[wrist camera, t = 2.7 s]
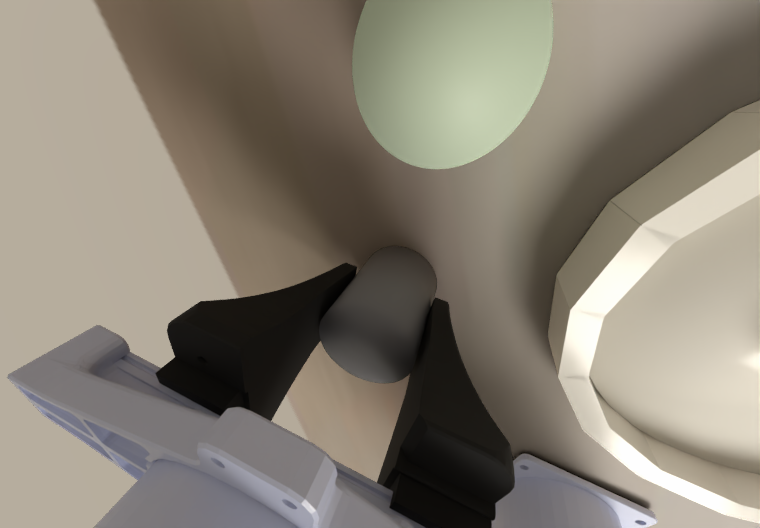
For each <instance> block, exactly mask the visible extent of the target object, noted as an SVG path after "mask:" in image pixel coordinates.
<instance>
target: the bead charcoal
mask: <svg viewBox="0 0 760 528" xmlns="http://www.w3.org/2000/svg"><path fill="white" fill-rule="evenodd" d="M436 288H437V279H436V275H435V272H434V270H433V268H432V266H431V265H430V263H429V262H428V261H427V260H426V259H425V258H424V257H423V256H421V255H420V254H419V253H417V252H415V251H413V250H411V249H408V248H405V247H399V246H391V247H385V248H382V249H380V250H378V251H376V252H375V253H374V254H373V255H372V256H371V257H370V258H369V259H368V261H367V262H366V263H365V264H364V266H363V267H362V268H361V269H360V271H359V272H358V273H357V274H356V276H355V277H354V278H353V280H352V281H351V282H350V283H349V285H348V286H347V287H346V288H345V290H344V291H343V292H342V293H341V295H340V296H339V297H338V298H337V300H336V301H335V302H334V303H333V305H332V306H331V307H330V308H329V310H328V311H327V312H326V314H325V315H324V316H323V318H322V319H321V322H320V326H319V335H320V339H321V342H322V345H323V347H324V349H325V350H326V352H327V353H328V355H329V356H330V357H331V358H332V359H333V360H334V361H335V362H336V363H337V364H338V365H339V366H340V367H341V368H343V369H344V370H346V371H347V372H349V373H350V374H352V375H354V376H356V377H358V378H361V379H363V380H367V381H370V382H375V383H393V382H397V381H400V380H402V379H404V378H405V377H406V376H408V375H409V373H410V372H411V371H412V369H413V367H414V364H415V360H416V357H417V353H418V350H419V347H420V343H421V340H422V336H423V333H424V330H425V326H426V322H427V318H428V315H429V312H430V308H431V306H432V303H433V299H434V296H435V292H436Z"/></svg>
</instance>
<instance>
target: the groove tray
mask: <svg viewBox="0 0 760 528" xmlns="http://www.w3.org/2000/svg"><path fill="white" fill-rule="evenodd" d="M548 339H549V343H550V347H551V351H552V355H553V359H554V363H555V367H556V371H557V375H558V378H559V380H560V382H561V384H562V387H563V389H564V391H565V393H566V395H567V397H568V399H569V402H570V404H571V406H572V408H573V410H574V412H575V414H576V417H577V419H578V421H579V423H580V425H581V427H582V429H583V431H584V432H585V433H586V434H587V435H589V436H590V437H591V438H592V439H594V440H595V441H596V442H597V443H598V444H600V445H601V446H602V447H603V448H605V449H606V450H607V451H608V452H609V453H611V454H612V455H613V456H614V457H616V458H617V459H618V460H619V461H620V462H622V463H623V464H624V465H625V466H627V467H628V468H629V469H630V470H631V471H633V472H634V473H635V474H636V475H638V476H639V477H641V478H643V479H646V480H648V481H650V482H652V483H655V484H657V485H659V486H661V487H664V488H666V489H668V490H670V491H673V492H675V493H677V494H679V495H681V496H684V497H686V498H688V499H690V500H693V501H695V502H697V503H699V504H702V505H704V506H706V507H708V508H711V509H713V510H715V511H717V512H720V513H722V514H725V515H728V516H732V517H736V518H740V519H744V520H747V521H751V522H755V523H759V524H760V100H759V101H756V102H754V103H752V104H749V105H747V106H745V107H742V108H740V109H737V110H735V111H733V112H731V113H729V114H728V115H727V116H725V117H724V118H722V119H721V120H720V121H718V122H717V123H716V124H714V125H713V126H711V127H710V128H709V129H707V130H706V131H705V132H703V133H702V134H700V135H699V136H698V137H696V138H695V139H694V140H692V141H691V142H689V143H688V144H687V145H685V146H684V147H683V148H681V149H680V150H678V151H677V152H676V153H674V154H673V155H671V156H670V157H669V158H667V159H666V160H665V161H663V162H662V163H660V164H659V165H658V166H656V167H655V168H654V169H652V170H651V171H649V172H648V173H647V174H645V175H644V176H643V177H641V178H640V179H638V180H637V181H636V182H634V183H633V184H632V185H630V186H629V187H627V188H626V189H625V190H623V191H622V192H621V193H619V194H618V195H616V196H615V197H614V198H612V199H611V200H610V201H609V202H608V203H607V205H606V206H605V208H604V209H603V210H602V212H601V213H600V215H599V216H598V217H597V219H596V220H595V222H594V223H593V224H592V226H591V227H590V229H589V230H588V231H587V233H586V234H585V236H584V237H583V238H582V240H581V241H580V243H579V244H578V245H577V247H576V248H575V250H574V251H573V252H572V254H571V255H570V256H569V258H568V259H567V261H566V262H565V263H564V265H563V266H562V268H561V269H560V270H559V272H558V273H557V275H556V281H555V288H554V295H553V302H552V309H551V316H550V323H549V329H548Z"/></svg>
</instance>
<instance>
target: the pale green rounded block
mask: <svg viewBox="0 0 760 528" xmlns="http://www.w3.org/2000/svg"><path fill="white" fill-rule="evenodd" d="M552 43H553V11H552V3H551V0H367V1H366V3H365V5H364V8H363V10H362V13H361V16H360V19H359V22H358V26H357V30H356V34H355V40H354V45H353V56H352V77H353V86H354V92H355V96H356V101H357V104H358V107H359V110H360V113H361V115H362V118H363V120H364V122H365V124H366V126H367V127H368V129H369V131H370V132H371V134H372V135H373V137H374V138H375V139H376V140H377V142H378V143H379V144H380V145H381V146H382V147H383V148H384V149H385V150H386V151H388V152H389V153H390V154H392V155H393V156H394V157H396V158H398V159H399V160H401V161H403V162H405V163H408V164H410V165H413V166H416V167H421V168H427V169H447V168H453V167H458V166H461V165H464V164H467V163H470V162H472V161H474V160H476V159H479V158H480V157H482V156H484V155H485V154H487V153H489V152H490V151H492V150H493V149H494V148H496V147H497V146H498V145H499V144H501V143H502V142H503V141H504V140H505V139H506V138H507V137H508V136H509V135H510V134H511V133H512V132H513V131H514V130H515V129H516V128H517V126H518V125H519V124H520V123H521V121H522V120H523V119H524V117H525V116H526V114H527V113H528V111H529V110H530V108H531V107H532V105H533V103H534V101H535V99H536V97H537V95H538V93H539V91H540V88H541V86H542V83H543V81H544V78H545V76H546V72H547V68H548V65H549V61H550V56H551V50H552Z"/></svg>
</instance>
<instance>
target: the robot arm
mask: <svg viewBox="0 0 760 528" xmlns="http://www.w3.org/2000/svg"><path fill="white" fill-rule="evenodd" d="M356 270H357V267H356V266H353V265H350V264H348V263H344V264H342V265H340V266H338V267H336V268H334V269H332V270H330V271H328V272H326V273H323V274H321V275H319V276H317V277H315V278H312V279H310V280H307V281H305V282H302V283H300V284H297V285H294V286H291V287H288V288H285V289H281V290H278V291H274V292H269V293H265V294H260V295H255V296H250V297H243V298H236V299H228V300H214V301H201V302H199V303H198V304H196V305H194V306H193V307H192V308H190V309H189V310H187V311H186V312H184V313H183V314H181V315H180V316H178V317H177V318H175V319H174V320H172V321H171V322H170V323H169V324H168V329H167V332H168V337H169V340H170V343H171V346H172V349H173V352H174V355H175V358H174V359H173V360H171V361H170V362H169V363H167V364H166V365H165V366H164V367H162V368H159V367H157V366H156V365H154V364H152V363H150V362H148V361H146V360H144V359H143V358H141V357H139V356H137V355H135V354H133V353H131V352H130V349H129V346H128V344H127V342H126V341H125V340H124V339H123V338H122V337H121V336H119V335H118V334H116V333H114V332H112V331H110V330H108V329H106V328H104V327H102V326H100V325H96V326H94V327H93V328H91V329H89V330H87V331H85V332H84V333H82V334H80V335H78V336H77V337H75V338H73V339H71V340H70V341H68V342H66V343H64V344H62V345H60V346H59V347H57V348H55V349H53V350H51V351H50V352H48V353H46V354H44V355H42V356H41V357H39V358H37V359H35V360H33V361H32V362H30V363H28V364H26V365H24V366H23V367H21V368H19V369H17V370H16V371H14V372H12V373H10V374H9V375H8V379H9V380H10V381H11V382H12V383H13V384H14V385H15V386H16V387H17V388H18V389H19V390H20V392H21V393H23V395H24V396H26V398H27V399H28V400H29V401H30V402H31V403H32V404H33V405H34V406H35V407H36V408H37V409H38V410H39V411H40V412H41V413H42V414H43V415H44V416H45V417H46V418H48V419H49V420H51V421H52V422H54V423H56V424H57V425H59V426H60V427H62V428H63V429H65V430H66V431H68V432H69V433H71V434H72V435H74V436H75V437H77V438H78V439H80V440H81V441H83V442H84V443H86V444H87V445H89V446H90V447H91V448H93V449H94V450H96V451H97V452H98V453H100V454H101V455H103V456H104V457H106V458H107V459H109V460H110V461H111V462H113V463H114V464H116V465H117V466H118V467H120V468H121V469H122V470H124V471H125V472H127V473H128V474H130V475H131V476H132V477H134V478H135V479H137V480H138V481H137V482H136V483H135V484H134V485H133V486H132V487H131V488H130V490H128V492H127V493H126V494H125V495H124V496H123V497H122V498H121V499H120V500H119V501H118V502H117V503H116V504H115V505H114V506H113V508H112V509H111V510H110V511H109V512H108V513H107V514H106V515H105V516H104V517H103V518H102V519H101V520H100V521H99V522H98V523H97V525H96V526H95V527H94V528H646V527H649V526H652V525H654V524H656V523H657V518H656V516H655V514H654V513H653V512H652V511H650V510H648V509H646V508H644V507H642V506H640V505H638V504H635V503H633V502H631V501H629V500H627V499H625V498H622V497H620V496H618V495H616V494H614V493H612V492H610V491H607V490H605V489H603V488H601V487H599V486H597V485H594V484H592V483H590V482H588V481H586V480H584V479H581V478H579V477H577V476H575V475H573V474H571V473H568V472H566V471H564V470H562V469H560V468H558V467H556V466H553V465H551V464H549V463H547V462H545V461H543V460H540V459H538V458H536V457H534V456H532V455H529V454H521V455H519V456H518V457H517V458H516V459H515V460H513V458H512V453H511V448H510V444H509V442H508V441H507V439H506V438H505V436H504V435H503V434H502V432H501V431H500V429H499V428H498V427H497V425H496V424H495V422H494V421H493V419H492V418H491V416H490V415H489V413H488V411H487V410H486V408H485V407H484V405H483V403H482V401H481V400H480V398H479V396H478V394H477V392H476V390H475V388H474V387H473V385H472V382H471V380H470V378H469V376H468V374H467V371H466V369H465V367H464V364H463V362H462V359H461V356H460V353H459V350H458V347H457V344H456V340H455V337H454V333H453V329H452V324H451V318H450V312H449V304H448V302H446V301H443V300H441V299H438V298H435V299H434V301H433V303H432V306H431V308H430V312H429V315H428V318H427V322H426V326H425V330H424V333H423V336H422V340H421V343H420V347H419V350H418V353H417V357H416V360H415V364H414V367H413V369H412V371H411V372H410V377H409V382H408V387H407V390H406V394H405V398H404V401H403V404H402V407H401V410H400V414H399V417H398V420H397V423H396V426H395V429H394V432H393V436H392V439H391V442H390V445H389V448H388V451H387V454H386V457H385V460H384V463H383V466H382V469H381V472H380V475H379V478H378V481H377V483H376V482H374V481H373V480H371V479H369V478H367V477H365V476H363V475H361V474H359V473H357V472H356V471H354V470H352V469H350V468H348V467H346V466H344V465H342V464H341V463H339V462H337V461H335V460H333V459H331V457H330V456H329V455H328V454H327V453H326V452H325V451H323V450H322V449H320V448H319V447H318V446H316V445H315V444H313V443H311V442H309V441H307V440H305V439H304V438H302V437H300V436H298V435H296V434H294V433H292V432H290V431H288V430H287V429H284V428H283V427H281V426H279V425H277V424H275V423H273V422H271V420H272V418H273V416H274V414H275V413H276V411H277V409H278V407H279V406H280V404H281V402H282V400H283V399H284V397H285V395H286V394H287V392H288V390H289V388H290V387H291V385H292V383H293V382H294V380H295V378H296V377H297V375H298V373H299V372H300V370H301V369H302V367H303V365H304V364H305V362H306V361H307V359H308V357H309V356H310V354H311V353H312V351H313V350H314V348H315V347H316V346H317V344H318V343H319V342H320V341H321V339H320V335H319V326H320V322H321V319H322V318H323V316H324V315H325V314H326V312H327V311H328V310H329V308H330V307H331V306H332V305H333V303H334V302H335V301H336V300H337V298H338V297H339V296H340V295H341V293H342V292H343V291H344V290H345V288H346V287H347V286H348V285H349V283H350V282H351V281H352V280H353V278H354V277H355V275H356Z"/></svg>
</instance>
